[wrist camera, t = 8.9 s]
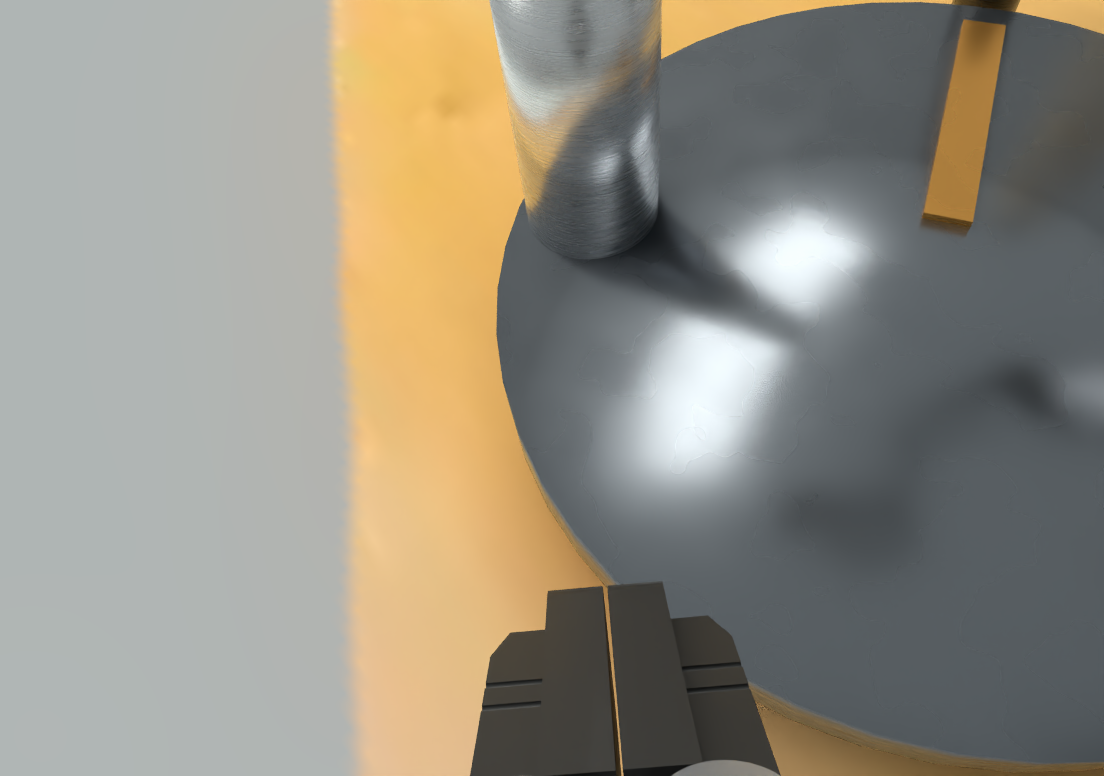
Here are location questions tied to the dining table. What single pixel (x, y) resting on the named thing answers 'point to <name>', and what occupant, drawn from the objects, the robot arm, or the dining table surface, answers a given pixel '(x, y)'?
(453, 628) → the dining table surface
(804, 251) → the turntable
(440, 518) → the dining table surface
